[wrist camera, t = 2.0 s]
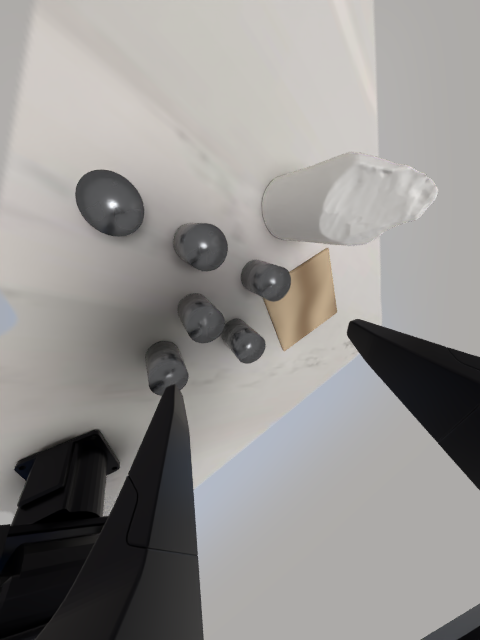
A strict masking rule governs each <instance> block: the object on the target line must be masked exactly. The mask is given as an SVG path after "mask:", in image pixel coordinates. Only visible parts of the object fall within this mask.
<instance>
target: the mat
mask: <svg viewBox="0 0 480 640" xmlns="http://www.w3.org/2000/svg"><path fill="white" fill-rule="evenodd" d="M289 273H290V276H291V285H290V289H289V291H288V293H287V294H286V295H285V296H284V297H283V298H282V299H281V300H279V301H275V302H271V301H268V300H267V299H265V298H263V299H264V302H265V304H266V307H267V309H268V312H269V315H270V317H271V320H272V323H273V325H274V328H275V330H276V333H277V336H278V338H279V341H280V344H281V346H282V349H283V351H286V350H287V349H288V348H290V347H291V346H292V345H294V344H295V343H296V342H298V341H299V340H300V339H302V338H303V337H304V336H306V335H307V334H309V333H310V332H311V331H313V330H314V329H315V328H317V327H318V326H319V325H321V324H322V323H323V322H325V321H326V320H327V319H329V318H330V317H332V316H333V315H334V314H336V313H337V308H336V300H335V293H334V285H333V278H332V271H331V263H330V256H329V249H328V248H326V249H325V250H323V251H321V252H320V253H318V254H317V255H315V256H314V257H312V258H311V259H309V260H308V261H306V262H305V263H303V264H301V265H300V266H298V267H297V268H295V269H294V270H292V271H291V272H289Z"/></svg>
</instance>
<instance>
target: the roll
mask: <svg viewBox="0 0 480 640" xmlns="http://www.w3.org/2000/svg"><path fill="white" fill-rule="evenodd" d="M437 193H438V188H437V186H436V185H435V184H434V181H433V180H431V179H430V178H428V177H426V174H425V173H423V172H418V171H416V170H415V169H414V168H412V167H410V166H408V165H400V164H396V163H393V162H390V161H388V160H385V159H381V158H378V157H375V156H371V155H366V154H363V153H355V152H348V153H345V154H342V155H339V156H337V157H334V158H331V159H329V160H326V161H323V162H321V163H318V164H315V165H313V166H310V167H307V168H304V169H301V170H298V171H295V172H292V173H289V174H285V175H282V176H279V177H277V178H275V179H273V180H272V181H271V183H270V184H269V185H268V187H267V188H266V190H265V193H264V195H263V200H262V214H263V218H264V221H265V224H266V226H267V228H268V230H269V231H270V233H271V234H272V235H274V236H275V237H277V238H279V239H283V240H293V241H303V242H314V243H324V244H332V245H347V246H352V245H364V244H367V243H369V242H371V241H372V240H374V239H376V238H377V237H378V236H380V235H381V234H382V233H383V232H385V231H387V230H389V229H391V228H393V227H395V226H397V225H401V224H403V223H406V222H411V221H415V220H416V219H418V218H419V217H420V216H421V215H422V214H423V213H424V211H425V210H426V209H427V208H428V207H429V206H430V204H431V203H433V202H434V200H435V199H436V196H437Z"/></svg>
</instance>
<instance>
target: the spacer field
mask: <svg viewBox="0 0 480 640" xmlns="http://www.w3.org/2000/svg"><path fill="white" fill-rule="evenodd" d="M75 194H76V202H77V206H78V208H79V210H80V212H81V214H82V216H83V217H84V218H85V220H86V221H87V222H88V223H89V224H90V225H91V226H93V227H94V228H95V229H97V230H98V231H100V232H102V233H105V234H107V235H111V236H126V235H129V234H131V233H133V232H135V231H136V230H137V229H138V228H139V227H140V225H141V223H142V221H143V217H144V206H143V202H142V199H141V197H140V194H139V193H138V191H137V190H136V188H135V187H134V186H133V185H132V184H131V183H130V182H129V181H128V180H127V179H126V178H124V177H123V176H121V175H119V174H117V173H115V172H112V171H108V170H94V171H91V172H88V173H87V174H85V175H84V176H83V177H82V178H81V179H80V180H79V182H78V184H77V187H76V193H75ZM173 244H174V249H175V251H176V253H177V254H178V256H179V257H180V258H181V259H183V260H184V261H186V262H187V263H189V264H190V265H192V266H193V267H195V268H196V269H198V270H201V271H212V270H215V269H216V268H218V267H219V266H220V265H221V264H222V263H223V262H224V260H225V258H226V256H227V251H228V245H227V240H226V238H225V236H224V234H223V233H222V231H221V230H220V229H219V228H217V227H216V226H214V225H211V224H206V223H188V224H184V225H182V226H181V227H179V228H178V230H177V231H176V233H175V235H174V239H173ZM241 280H242V283H243V285H244V286H245V287H246V288H247V289H249V290H250V291H252V292H254V293H256V294H258V295H259V296H261V297H263V298H265V299H267V300H268V301H271V302H275V301H279V300H281V299H282V298H283V297H284V296H285V295H286V294H287V293H288V291H289V289H290V285H291V276H290V273H289V271H288V270H287V269H285V268H283V267H280V266H277V265H273V264H270V263H266V262H263V261H259V260H253V261H250V262H249V263H247V264H246V266H245V267H244V268H243V271H242V274H241ZM178 315H179V317H180V319H181V321H182V323H183V325H184V327H185V328H186V330H187V332H188V334H189V336H190V337H191V338H192V339H193V340H194V341H196V342H199V343H208V342H211V341H213V340H215V339H216V338H218V337H219V336H220V334H221V333H222V339H223V341H224V342H225V343H226V344H227V346H228V347H229V348H230V349H231V350H232V352H233V353H234V354H235V355H236V357H237V358H238V359H239V360H240V361H241V362H242V363H252V362H254V361H256V360H257V359H259V358H260V357H261V355H262V354H263V352H264V350H265V340H264V339H263V338H262V337H261V336H260V335H259V334H258V333H257V332H255V331H254V330H253V329H252V328H251V327H250V326H248V325H247V324H246V323H245V322H244V321H242V320H240V319H234V320H231V321H229V322H228V323H227V324H226V325H225V320H224V317H223V315H222V313H221V312H220V311H219V310H218V309H217V308H216V307H215V306H213V305H212V304H211V303H210V302H209V301H208V300H207V299H206V298H205V297H204V296H202V295H200V294H190V295H187V296H185V297H184V298H183V299H182V300H181V301H180V303H179V305H178ZM145 358H146V366H147V373H148V381H149V387H150V389H151V391H152V392H153V393H155V394H157V395H163V393H164V390H165V388H166V387H167V386H170V385H173V384H175V385H177V387H178V389H179V390H181V389H182V388H183V387H184V386H185V385H186V383H187V381H188V372H187V369H186V367H185V364H184V362H183V359H182V357H181V354H180V352H179V349H178V347H177V346H176V345H175V344H173V343H171V342H168V341H162V342H158V343H156V344H154V345H152V346H151V347H150V348H149V349H148V351H147V352H146V357H145Z"/></svg>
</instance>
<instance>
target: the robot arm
mask: <svg viewBox="0 0 480 640" xmlns="http://www.w3.org/2000/svg"><path fill="white" fill-rule="evenodd" d="M347 336H348V338H349V339H350V341H351V342H352V343H353V345H354V346H355V347H356V349H357V350H358V352H359V353H360V354H361V356H362V357H363V359H364V360H365V361H366V362H367V363H368V365H369V366H370V367H371V368H372V369H373V370H374V371H375V373H376V374H377V375H378V376H379V377H380V378H381V379H382V380H383V382H384V383H385V384H386V385H387V386H388V387H389V388H390V390H391V391H392V392H393V393H394V394H395V395H396V396H397V397H398V398H399V400H400V401H401V402H402V403H403V404H404V405H405V406H406V408H407V409H408V410H409V411H410V412H411V413H412V414H413V415H414V417H415V418H416V419H417V420H418V421H419V422H420V423H421V425H422V426H423V427H424V428H425V429H426V430H427V431H428V432H429V434H430V435H431V436H432V437H433V438H434V439H435V440H436V441H437V442H438V444H439V445H440V446H441V447H442V448H443V449H444V451H445V452H446V453H447V454H448V455H449V456H450V457H451V458H452V460H454V462H455V463H456V464H457V465H458V466H459V467H460V468H461V470H462V471H463V472H464V473H465V474H466V475H467V477H468V478H469V479H470V480H471V481H472V482H473V483H474V484H475V486H476V487H477V488H478V489H479V490H480V357H478V356H474V355H470V354H467V353H464V352H461V351H458V350H455V349H451V348H448V347H447V348H446V347H445V346H442V345H439V344H435V343H432V342H429V341H426V340H423V339H420V338H417V337H414V336H410V335H407V334H404V333H401V332H398V331H395V330H392V329H388V328H385V327H382V326H379V325H376V324H373V323H370V322H367V321H363V320H360V319H355V320H353V321H350V322H349V326H348V330H347ZM119 468H120V462H119V461H118V459H117V458H116V456H115V455H114V453H113V451H112V450H111V448H110V447H109V445H108V444H107V442H106V441H105V439H104V437H103V436H102V434H101V433H100V432H99V431H92V432H89V433H87V434H84V435H82V436H80V437H77V438H75V439H72V440H70V441H67V442H65V443H62V444H60V445H57V446H55V447H53V448H50V449H48V450H45V451H43V452H40V453H38V454H35V455H33V456H30V457H28V458H25V459H23V460H21V461H19V462H18V463H17V464H16V466H15V469H14V470H15V471H16V472H17V473H18V474H19V475H20V476H21V477H22V478H24V479H25V480H26V483H25V486H24V488H23V491H22V493H21V496H20V499H19V501H18V504H17V506H18V509H17V511H16V514H15V517H14V519H13V522H12V524H8V525H0V640H204V639H203V624H202V610H201V594H200V580H199V565H198V556H197V555H198V552H197V538H196V524H195V523H196V522H195V508H194V493H193V479H192V464H191V449H190V435H189V427H188V421H187V416H186V410H185V405H184V400H183V396H182V393H181V392H180V390H179V389H178V387H177V385H175V384H173V385H170V386H167V387H166V388H165V390H164V393H163V395H162V397H161V400H160V402H159V404H158V407H157V409H156V411H155V413H154V416H153V418H152V420H151V423H150V425H149V427H148V430H147V432H146V434H145V436H144V439H143V441H142V443H141V446H140V448H139V450H138V453H137V455H136V457H135V459H134V462H133V464H132V466H131V469H130V471H129V473H128V475H129V476H127V478H126V480H125V482H124V485H123V487H122V489H121V491H120V494H119V496H118V498H117V500H116V502H115V504H114V507H113V509H112V511H111V513H110V515H109V516H104V517H103V507H104V496H105V484H106V475H108V474H111V473H113V472H115V471H117V470H118V469H119ZM10 525H11V526H10ZM421 640H480V604H478V605H477V606H475V607H473V608H472V609H470V610H469V611H467V612H465V613H464V614H462V615H460V616H459V617H457V618H455V619H454V620H452V621H450V622H449V623H447V624H446V625H444V626H443V627H441V628H439V629H437V630H436V631H434V632H432V633H431V634H429V635H428V636H426V637H424V638H423V639H421Z"/></svg>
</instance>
